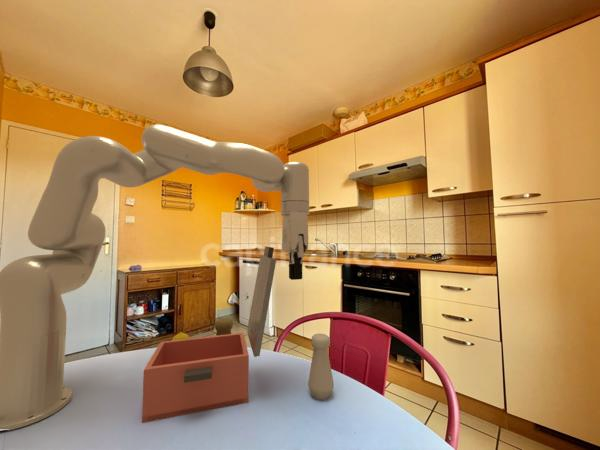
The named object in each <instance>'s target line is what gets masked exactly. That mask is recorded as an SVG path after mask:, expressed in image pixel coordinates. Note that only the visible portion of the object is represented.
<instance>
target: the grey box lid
mask: <svg viewBox="0 0 600 450" xmlns="http://www.w3.org/2000/svg"><path fill="white" fill-rule="evenodd" d="M274 250H275V247H273V246H272V247H271V246H264V250H263V254H260V258H259V262H258V267H257V273H256V278H255V284H254V290H253V295H252V300H251V305H250V312H249V317H248V322H247V328H246V333H247V336H248V340H249V344H250V347H251V351H252V355H253V357H255V358H257V357H260V355H261V349H262V344H263V339H264V333H265V327H266V323H267V322H266V321H267V316H268V309H269V303H270V298H271V294H272V293H271V292H272V288H273V287H272V286H273V282H274V276H275V270H276V264H277V259H276V258H273V256H274Z"/></svg>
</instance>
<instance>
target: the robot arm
mask: <svg viewBox="0 0 600 450" xmlns="http://www.w3.org/2000/svg"><path fill="white" fill-rule="evenodd" d="M141 145H142V147H143V149H142V150H139V151H137V152H134V153H132V152H131V150H130V149H128V148H127V147H126V146H124V145H123V144H121V143H120V142H117V141H116V140H115V139H111V138H109V137H104V136H100V135H87V136H81V137H79V138H77V139H73V140H72V141H70V142H68V143H67V144H66V145H64V146H63V147H62V148H61V149H60V151H58V154H57V156H56V158H55V160H54V164H53V167H52V170H51V172H50V176H49V180H48V182H47V184H46V187H45V189H44V191H43V193H42V195H41V198H40V200H39V202H38V204H37V207H36V209H35V212H34V214H33V216H32V219H31V220H30V223H29V226H28V231H27V236H28V237H27V238H28V240H29V241H30V243H31V245H34V246H35V247H37V248H39V249H41V250H47V251H52V253H51V254H48V253H47V254H37V255H28V256H25V257H21V258H18V259H15V260H13V261H12V262H9V263H8V264H7V265H5V266H4V267H3V268H2V269H1V270H0V429H10V430H9V431H12V430H17V429H20V428H23V427H26V426H29V425H32V424H34V423H38V422H39V421H41V420H43V419H46V418H48V417H49V416H51V415H53V414H55V413H57V412H58V411H60V410H61V409H62V408H64V407H66V405H68V403H70V402H71V399H72V398H73V397H72V396H73V390H72V389H71V388H70V387H67V386H64V375H65V374H64V373H65V359H66V340H67V310H66V306H65V303H64V300H63V297H62V295H63V294H67V293H71V292H74V291H76V290H77V289H80V288H81V287H82V286H84V285H85V284H86V283H87V281H88V280H89V279H90V277H91V275H92V274H93V272H94V269H95V266H96V263H97V260H98V258H99V255H100V252H101V249H103V248H102V247H103V244H104V241H105V240H106V239H105V238H106V226H105V224H104V221H103V220H102V219H101V217H99V215H96V214H94V213H92V211H93V209H94V207H95V204H96V201H97V200H98V196H99V181H100V180H101V179H105V180H108V181H109V182H111V183H113V184H116V185H118V186H120V187H123V188H136V187H140V186H143V185H145V184H147V183H150V182H153V181H155V180H157V179H160V178H163V177H165V176H167V175H170V174H172V173H174V172H175V171H178V170H179V169H181V168H183V169H187V170H191V171H194V172H196V173H197V172H198V173H200V174H203V175H206V176H214V175H218V174H222V173H225V174H226V173H227V174H233V175H238V176H242V177H245V178H249V179H251V183H252V185H253V186H254V189H257V190H258V191H260V192H264V193H269V192H271V193H272V192H280V212H281V213H280V215H281V216H283V219H282V231H281V232H282V233H281V250H282V251H283V252H284V253H287V255H288V279H289V280H291V281H292V280H293V281H296V280H297V281H299V280H303V259H304V257H305V253H306V252H307V251H308V250H309V225H308V224H309V223H308V221H309V220H308V216H310V169H309V166H308V165H307V164H306V163H304V162H301V161H300V162H299V161H289V162H286V163H283V161H282V160H281V158H280V157H279V156H277V155H276V154H274V153H273V152H271V151H268V150H265V149H263V148H259V147H257V146H254V145H250V144H246V143H242V142H241V143H240V142H233V141H231V142H230V141H215V140H212V139H209V138H205V137H202V136H199V135H196V134H194V133H191V132H187V131H184V130H181V129H178V128H175V127H173V126H172V127H171V126H169V125H165V124H161V123H156V124H150V125H148V126H146V128H145V129H144V130H143V132H142V134H141Z"/></svg>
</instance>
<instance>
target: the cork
mask: <svg viewBox="0 0 600 450" xmlns="http://www.w3.org/2000/svg"><path fill="white" fill-rule="evenodd" d="M233 325H234V322H233V320H232V319H231V318H229V317H222V318H221V317H220V318H219V319H218V318H217V319H216V321H215V323H214V329H215V331H216V335H215V336H218V335H227V334H232V328H233Z"/></svg>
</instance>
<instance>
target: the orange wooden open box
mask: <svg viewBox="0 0 600 450" xmlns="http://www.w3.org/2000/svg"><path fill="white" fill-rule="evenodd" d="M189 338H190V339H181V340H172V339H171V340H164V341H160V342H159V343H158V345H157V347H156V349H155V350H154V352H153V354H152V355H151V357H150V359H149V361H148V362H147V364H146V365H145V367H144V369H143V384H142V386H143V387H142V407H141V408H142V412H141V413H142V415H141V424H142V423H149V422H153V421H158V420H162V419H170V418H174V417H178V416H179V417H180V416H185V415H188V414H195V413H201V412H206V411H211V410H215V409H216V410H217V409H221V408H226V407H231V406H236V405H242V404H247V403H249V375H250V374H249V371H250V370H249V368H250V367H249V365H250V363H249V362H250V361H249V360H250V357H249V356H250V355H249V351H248V347H247V342H246V338H245V334H244V332H237V333H231V334H227V335H218V336H216V335H210V336H200V337H189Z"/></svg>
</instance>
